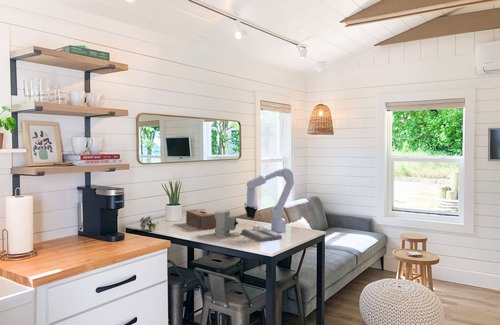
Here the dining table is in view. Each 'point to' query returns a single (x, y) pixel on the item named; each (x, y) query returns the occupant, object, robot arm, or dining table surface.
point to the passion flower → (147, 223)
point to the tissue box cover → (201, 219)
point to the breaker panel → (261, 234)
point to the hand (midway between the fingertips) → (250, 217)
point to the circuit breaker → (224, 222)
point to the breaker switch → (256, 227)
